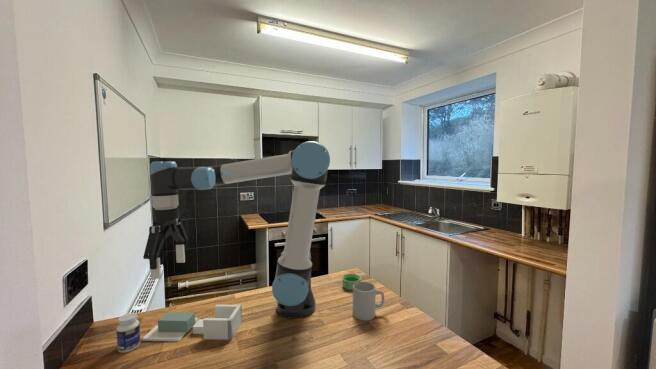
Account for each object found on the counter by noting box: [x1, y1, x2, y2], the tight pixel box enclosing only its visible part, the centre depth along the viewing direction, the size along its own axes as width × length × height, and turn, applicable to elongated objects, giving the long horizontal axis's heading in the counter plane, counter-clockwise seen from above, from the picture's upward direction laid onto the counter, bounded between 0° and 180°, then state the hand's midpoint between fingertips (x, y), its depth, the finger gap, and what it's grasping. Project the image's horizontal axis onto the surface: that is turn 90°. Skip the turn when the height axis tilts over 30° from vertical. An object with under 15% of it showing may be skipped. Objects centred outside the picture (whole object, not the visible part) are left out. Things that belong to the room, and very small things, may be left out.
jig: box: [192, 304, 243, 341], centre depth 92 cm, size 14×10×6 cm
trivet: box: [142, 317, 199, 342], centre depth 92 cm, size 12×12×1 cm
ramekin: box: [341, 273, 362, 291], centre depth 125 cm, size 9×9×4 cm
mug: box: [352, 281, 385, 322], centre depth 101 cm, size 12×8×11 cm
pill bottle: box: [116, 312, 141, 354], centre depth 83 cm, size 6×6×10 cm
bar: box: [157, 311, 196, 333], centre depth 92 cm, size 10×5×4 cm, turn 88°
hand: (169, 269), depth 91 cm, fingers open, 13 cm apart
